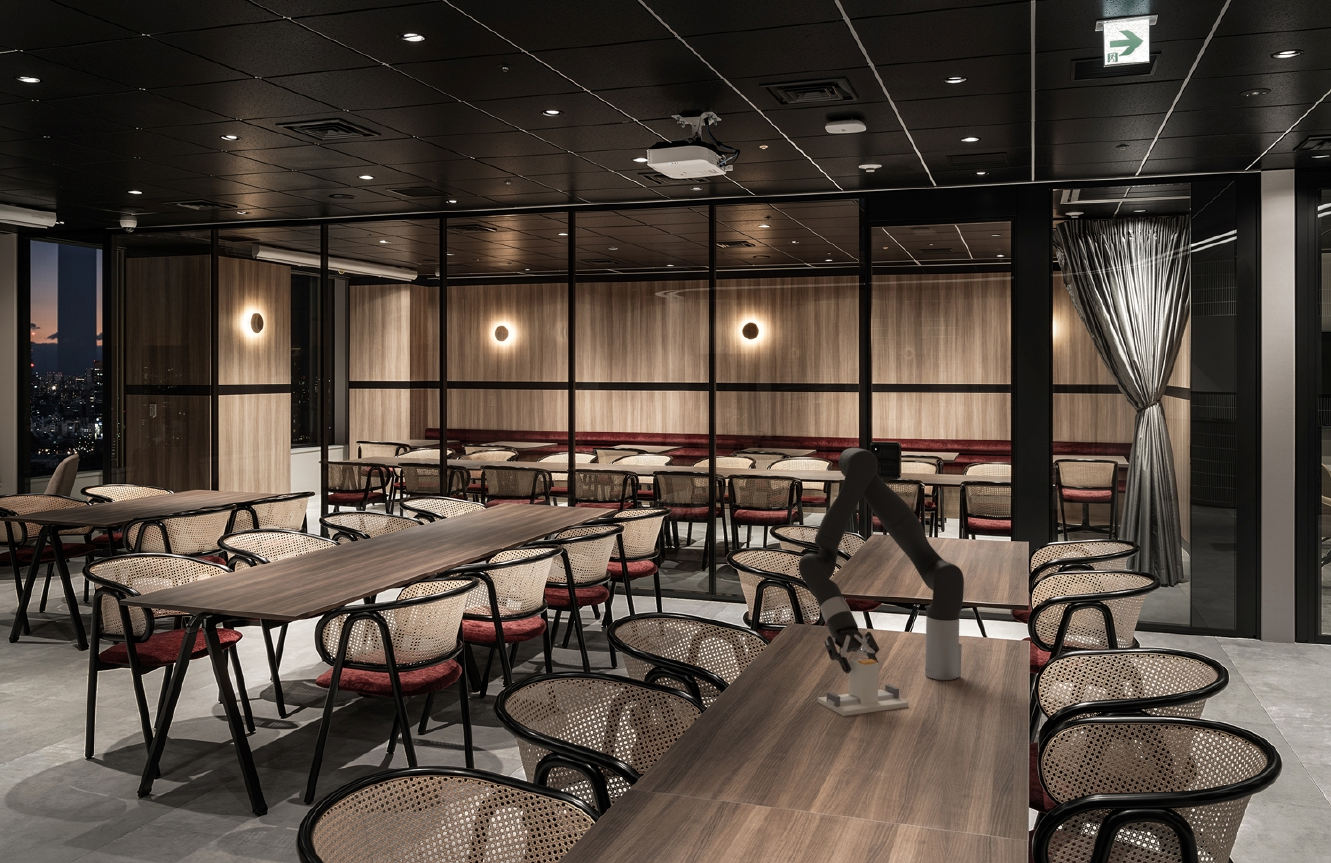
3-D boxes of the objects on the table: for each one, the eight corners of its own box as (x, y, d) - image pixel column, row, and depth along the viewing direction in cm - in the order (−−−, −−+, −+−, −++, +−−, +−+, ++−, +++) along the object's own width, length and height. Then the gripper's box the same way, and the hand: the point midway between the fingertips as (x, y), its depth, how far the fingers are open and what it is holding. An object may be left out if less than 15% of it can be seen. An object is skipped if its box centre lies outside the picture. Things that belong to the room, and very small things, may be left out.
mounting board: (880, 693, 274) (881, 680, 274) (908, 706, 263) (908, 692, 263) (817, 702, 266) (818, 688, 266) (843, 715, 255) (844, 701, 255)
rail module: (864, 695, 268) (864, 655, 268) (877, 701, 263) (878, 661, 262) (848, 697, 266) (849, 657, 266) (861, 704, 261) (862, 663, 260)
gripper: (821, 612, 269) (845, 665, 259) (866, 607, 275) (891, 660, 265) (810, 627, 274) (833, 680, 264) (854, 622, 280) (878, 674, 270)
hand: (862, 670), depth 265 cm, fingers open, 8 cm apart
